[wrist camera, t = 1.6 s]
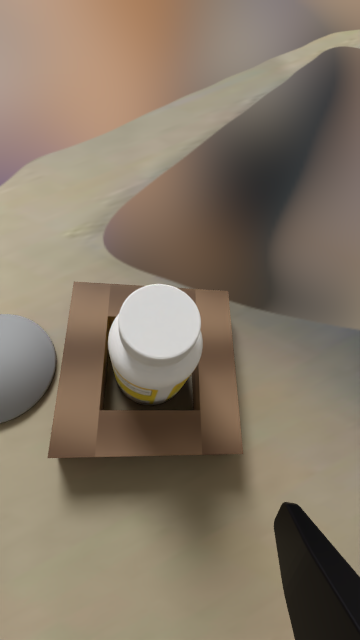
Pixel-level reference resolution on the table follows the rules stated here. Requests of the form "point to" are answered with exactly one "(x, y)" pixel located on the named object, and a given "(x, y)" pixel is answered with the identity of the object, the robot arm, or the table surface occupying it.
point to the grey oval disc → (23, 365)
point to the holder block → (143, 425)
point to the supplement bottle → (155, 343)
